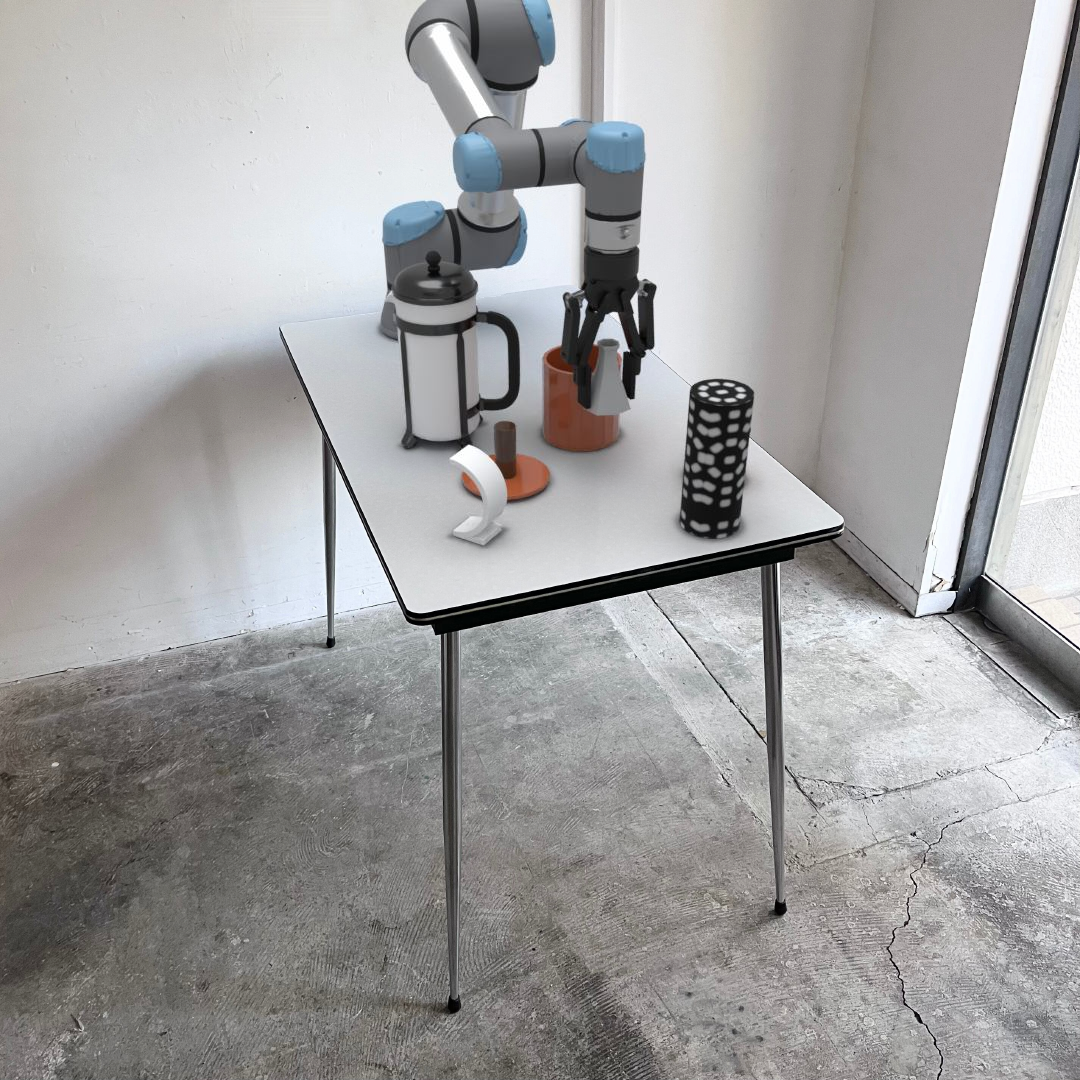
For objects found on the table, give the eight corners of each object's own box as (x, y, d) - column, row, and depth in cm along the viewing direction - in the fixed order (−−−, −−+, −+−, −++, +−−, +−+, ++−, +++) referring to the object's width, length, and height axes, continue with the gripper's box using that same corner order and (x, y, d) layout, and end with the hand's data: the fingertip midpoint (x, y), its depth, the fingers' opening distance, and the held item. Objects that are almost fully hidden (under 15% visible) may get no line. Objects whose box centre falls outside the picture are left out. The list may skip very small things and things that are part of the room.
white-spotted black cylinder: (693, 542, 148) (705, 409, 137) (670, 512, 154) (680, 382, 144) (749, 533, 150) (765, 401, 139) (724, 503, 156) (737, 375, 146)
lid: (449, 470, 165) (446, 416, 160) (527, 453, 169) (527, 399, 164) (482, 511, 155) (480, 454, 150) (564, 491, 160) (564, 435, 155)
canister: (530, 425, 178) (529, 351, 171) (596, 411, 182) (598, 338, 175) (563, 457, 168) (564, 380, 161) (632, 441, 173) (636, 366, 166)
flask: (639, 412, 158) (642, 348, 153) (593, 420, 156) (595, 356, 150) (617, 392, 164) (620, 329, 158) (573, 400, 162) (574, 337, 156)
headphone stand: (471, 520, 153) (468, 444, 146) (508, 532, 150) (506, 455, 144) (453, 535, 150) (449, 458, 143) (490, 547, 147) (487, 470, 140)
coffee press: (427, 468, 165) (415, 277, 149) (380, 428, 177) (364, 246, 160) (523, 439, 173) (521, 254, 157) (472, 403, 185) (465, 227, 168)
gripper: (558, 264, 140) (557, 424, 153) (688, 243, 147) (676, 398, 160) (534, 247, 146) (534, 402, 159) (660, 228, 153) (651, 378, 166)
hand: (606, 400), depth 159 cm, fingers closed on flask, 7 cm apart
